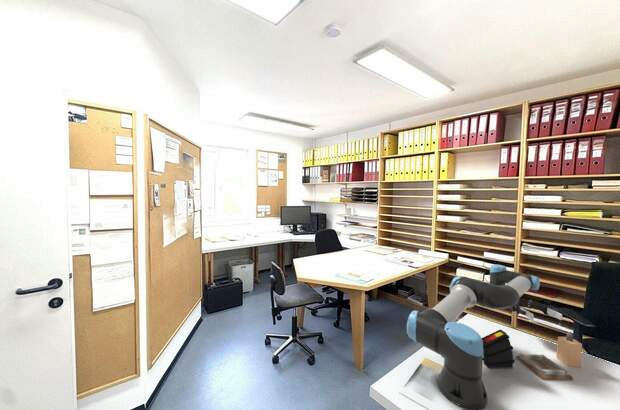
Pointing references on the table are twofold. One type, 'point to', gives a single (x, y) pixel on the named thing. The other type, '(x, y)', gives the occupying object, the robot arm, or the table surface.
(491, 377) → the table surface
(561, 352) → the orange bottle
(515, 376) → the table surface
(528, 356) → the tray
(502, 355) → the magazine
